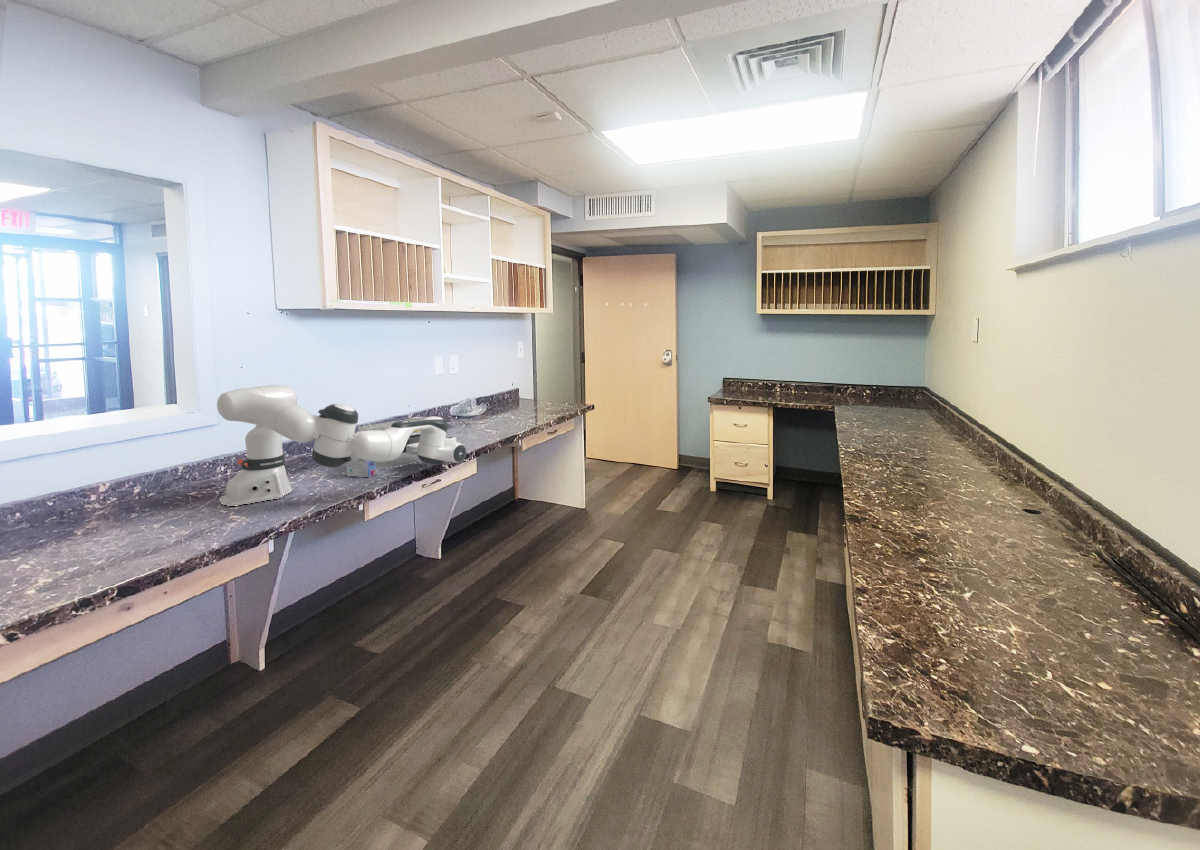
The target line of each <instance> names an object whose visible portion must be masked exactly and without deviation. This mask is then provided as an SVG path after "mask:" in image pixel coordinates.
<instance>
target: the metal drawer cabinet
mask: <svg viewBox="0 0 1200 850" xmlns="http://www.w3.org/2000/svg"><path fill="white" fill-rule="evenodd" d="M418 417H419V418H413V419H422V418H426V417H427V416H418ZM413 419H410V418H407V419H402V420H394V421H388V422H380V423H375V424H368V425H367V424H366V425H362V426H358V429H357V430H358V432H361V431H368V430H382V431H383V430H386V429H388V428H389V427H390V426H391V425H392V424H393V423H395V422H399V421H405V420H413ZM420 434H421V430H419V431H414V432H413V433H412V434H411V435H410V436H415V435H420ZM419 461H421V460H420V459H419V458H418V456H417V455H413V454H408V453H407V452H406V450H405V449H404V450H403V452H402V453H401V455H400V456H399V457H398V458H396V459H394V460H392V461H385V462H378V461H375V469H376V471H377V470H382V469H386V468H391V467H395V466H400V465H405V466H407V465H406V464H410V463H414V462H419ZM419 463H420V462H419ZM414 464H415V463H414ZM410 465H411V464H410ZM400 467H401V466H400ZM391 469H392V468H391ZM386 470H387V469H386ZM382 471H383V470H382ZM377 472H378V471H377Z"/></svg>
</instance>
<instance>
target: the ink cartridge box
mask: <svg viewBox="0 0 1200 850" xmlns="http://www.w3.org/2000/svg"><path fill="white" fill-rule="evenodd" d="M350 457H351V461H350V462H346V463H345V464H346V465H345V466H346V477H347V476H359V477H358V478H363V477H369V476H371V477H373V476H372V475H374V474H376V475H377V472H376V469H375V461H368V460H364V459H360V458H357V457H355V456H350ZM374 476H375V475H374ZM369 478H370V477H369Z"/></svg>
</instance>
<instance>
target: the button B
mask: <svg viewBox="0 0 1200 850" xmlns="http://www.w3.org/2000/svg"><path fill="white" fill-rule="evenodd" d="M419 440H420V435H415V436H410V437H409V439H408V441H407V443H406V445H408V444H414V443H418V442H419ZM404 449H405V450H406V446H405V448H404Z"/></svg>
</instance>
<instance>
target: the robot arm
mask: <svg viewBox="0 0 1200 850" xmlns="http://www.w3.org/2000/svg"><path fill="white" fill-rule="evenodd" d="M216 402H217V403H216V408H217V412H218V414H219V415H220V416H221V417H222V418H223V419H224V420H226V421H228V422H229V421H230V422H241V423H248V424H251V425H255V426H254V428H252V429H251V430H249V431H248V432H247V433H246V435H245V438H244V441H245V450H246V455H247V457H246V458H245V459H242V458H239V459H238V460H237V461H236V463H237V464H238V465H239V466H241V468H242V469H241V470H240V471H239V472H238V473H237V474H235V476H233V477H232V478H231V479H230V480H229V481H228V482H227V483H226V487H225V495H222V496H220V497H219V499H218V501H220V502H221V503H223V504H225V505H230V506H235V505H242V504H248V505H250V504H249V503H254V504H256V503H255V502H259V503H261V502H260V501H265V502H267V501H266V500H271V501H274V500H273V499H277V500H280V499H279V498H281V499H283V498H284V497H285V496H287V495H289V494H291V493H292V492H293V491H292V490H293V488H292V486H291V484H290V481H289V477H288V474H287V471H286V469H287V461H286V456H285V455H286V454H285V453H284V451H283V439H282V437H284V438H285V439H288V440H291V441H292V442H293V441H294V442H297V443H302V444H305V443H309V442H312V441H314V440H315V441H314V444H313V445H314V446H313V448H312V450H311V458H312V460H313V462H314V463H316V464H317V465H320V466H322V467H323V468H338V467H340V466H343V465H345V464H346V462H350V461H351V457H350V456H355V457H357V458H360V459H364V460H368V461H378V462H385V461H392V460H394V459H396V458H398V457H399V456H400V455H401V453H402V452H403V450H404V448H405V446H406V452H407V453H408V454H413V455H417V456H418V458H419V459H420V460H421V461H423V462H424V463H427V464H430V465H442V464H444V463H445V462H447V463H448V462H449V463H461V462H463V461H464V459H466V454H467V448H466V446H465V445H464V444H463V443H461V442H459V441H457V437H456V436H447V437H446V435H447V433H448V429H449V424H448V423H447V421H446V420H445V419H444V418H443V417H440V416H433V415H432V416H425V417H426V418H422V419H413V420H406V419H404V420H405V421H400V420H398V421H399V422H395V423H393V424H392V425H391V426H390V427H389V428H388V429H386V430H383V431H382V430H368V431H361V432H359V431H358V432H356V428H357V424H358V422H359V413H358V412H357V410H356V409H355V408H353V407H352V406H350V405H347V404H343V403H332V404H330V405H328V406H325V407H324V408H323V409H322V408H321V409H319V410H318V411H317V413H318V414H319V415H315V414H312V413H311V412H309V411H308V410H306V409H304V408H303V407H301V406H299V405H297V403H298V397H297V394H296V392H295V391H294V389H293V388H292V387H290V386H289V385H283V384H281V385H280V384H271V385H262V386H254V387H245V388H236V389H231V390H229V391H226V392H223V393H221V394H220V396H218V398H217V401H216ZM419 430H421V434H420V440H419V442H418V443H414V444H408V445H406V443H407V441H408V439H409V437H410V435H411V434H412V433H413V432H414V431H419ZM355 432H356V433H355ZM291 491H292V492H291ZM290 492H291V493H290ZM288 493H289V494H288ZM286 494H287V495H286ZM284 495H285V496H284ZM283 496H284V497H283ZM282 497H283V498H282ZM220 502H219V503H220ZM242 506H243V505H242Z"/></svg>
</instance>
